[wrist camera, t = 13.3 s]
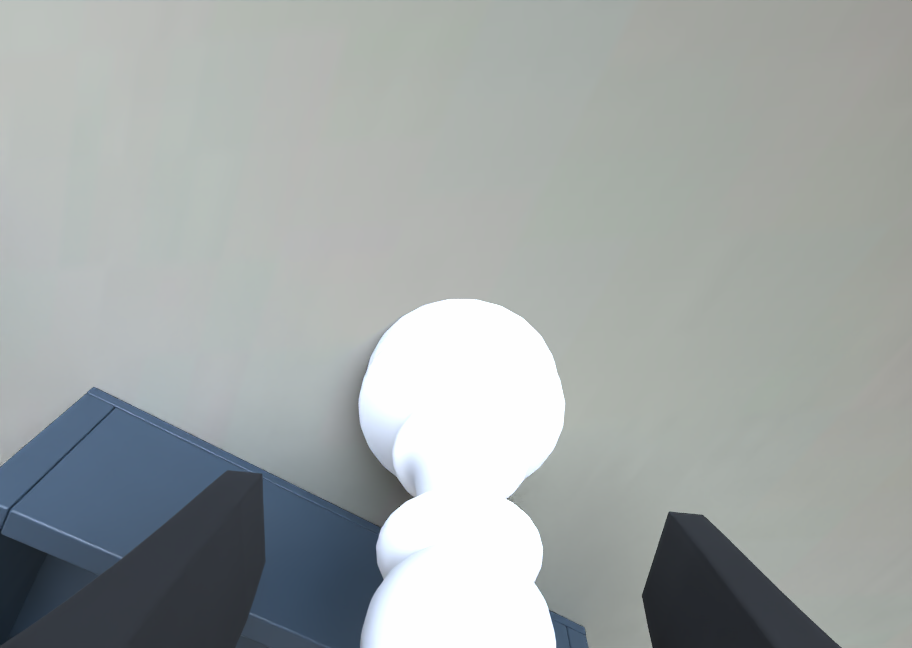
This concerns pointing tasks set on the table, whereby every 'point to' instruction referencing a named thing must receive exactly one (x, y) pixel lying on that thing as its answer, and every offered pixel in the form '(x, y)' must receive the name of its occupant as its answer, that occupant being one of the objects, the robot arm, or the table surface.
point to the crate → (156, 501)
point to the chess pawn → (460, 476)
